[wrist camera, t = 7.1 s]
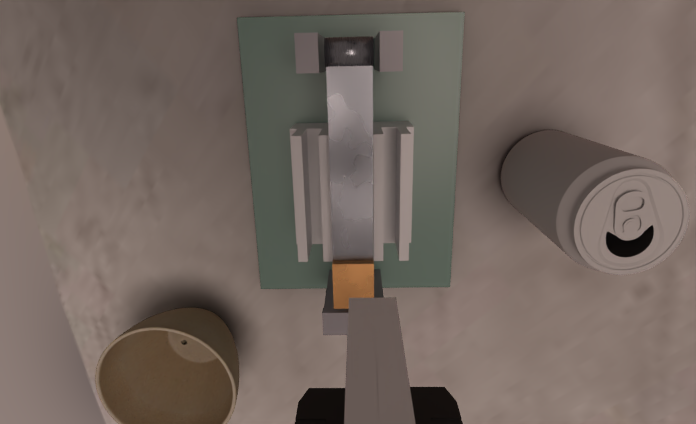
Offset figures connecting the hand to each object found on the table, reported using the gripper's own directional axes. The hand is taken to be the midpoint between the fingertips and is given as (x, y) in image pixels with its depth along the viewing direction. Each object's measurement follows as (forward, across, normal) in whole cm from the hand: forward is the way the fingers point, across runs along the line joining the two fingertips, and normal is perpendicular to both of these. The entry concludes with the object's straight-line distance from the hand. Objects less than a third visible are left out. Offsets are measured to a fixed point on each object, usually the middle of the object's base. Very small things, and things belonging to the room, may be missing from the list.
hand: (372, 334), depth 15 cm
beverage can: (+21, +13, 0) cm, 25 cm away
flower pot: (+21, -14, -14) cm, 29 cm away
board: (+21, -1, +1) cm, 21 cm away
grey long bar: (+14, -1, +2) cm, 14 cm away
